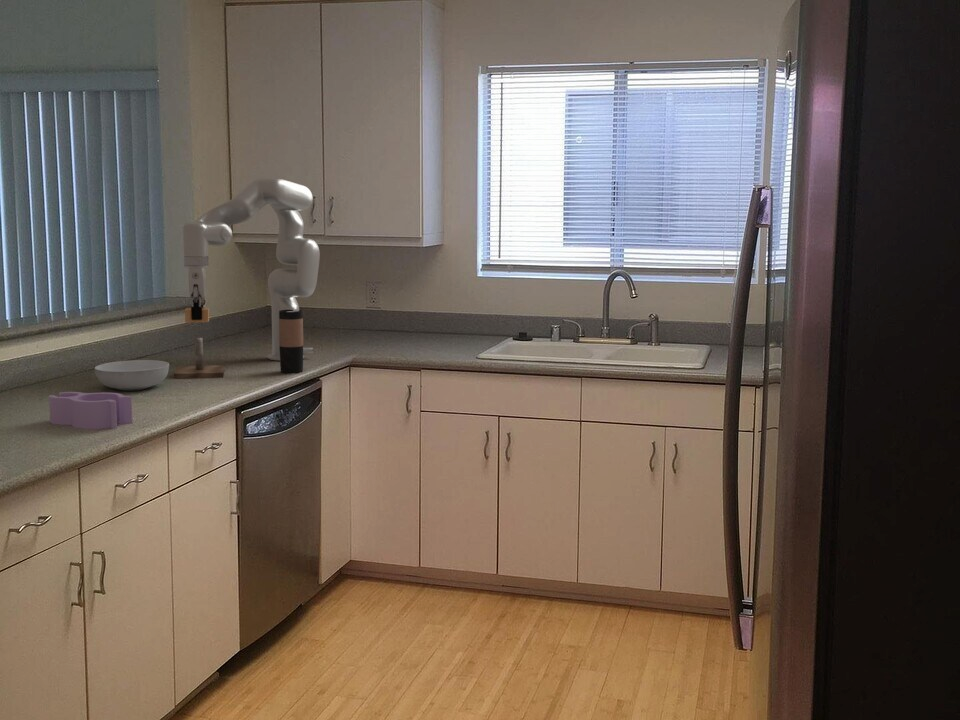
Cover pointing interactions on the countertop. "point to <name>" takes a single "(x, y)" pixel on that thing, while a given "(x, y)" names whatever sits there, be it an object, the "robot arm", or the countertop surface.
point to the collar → (204, 318)
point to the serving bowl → (132, 374)
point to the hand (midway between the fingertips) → (197, 318)
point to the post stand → (199, 366)
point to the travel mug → (291, 341)
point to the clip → (90, 409)
